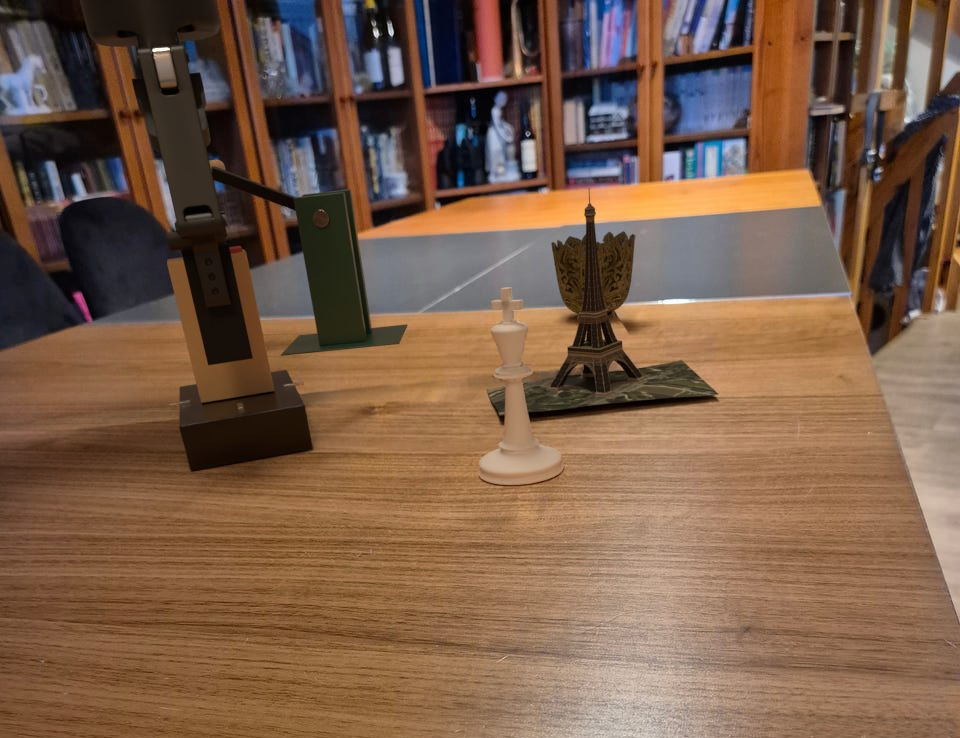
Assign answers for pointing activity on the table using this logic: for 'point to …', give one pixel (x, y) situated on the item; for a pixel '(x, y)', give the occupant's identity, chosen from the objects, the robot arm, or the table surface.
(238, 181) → the lever
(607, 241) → the cup
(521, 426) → the chess piece
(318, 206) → the bracket
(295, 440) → the base
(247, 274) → the tan standing plaque
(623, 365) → the eiffel tower figurine
